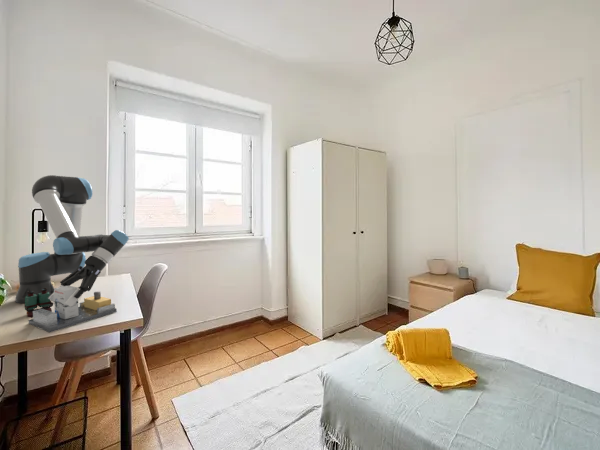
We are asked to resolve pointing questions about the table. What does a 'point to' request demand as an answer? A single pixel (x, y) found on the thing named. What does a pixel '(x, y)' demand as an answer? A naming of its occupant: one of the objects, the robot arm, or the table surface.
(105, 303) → the press jaw
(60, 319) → the press bed
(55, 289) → the ink box
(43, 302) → the binoculars
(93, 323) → the table surface
